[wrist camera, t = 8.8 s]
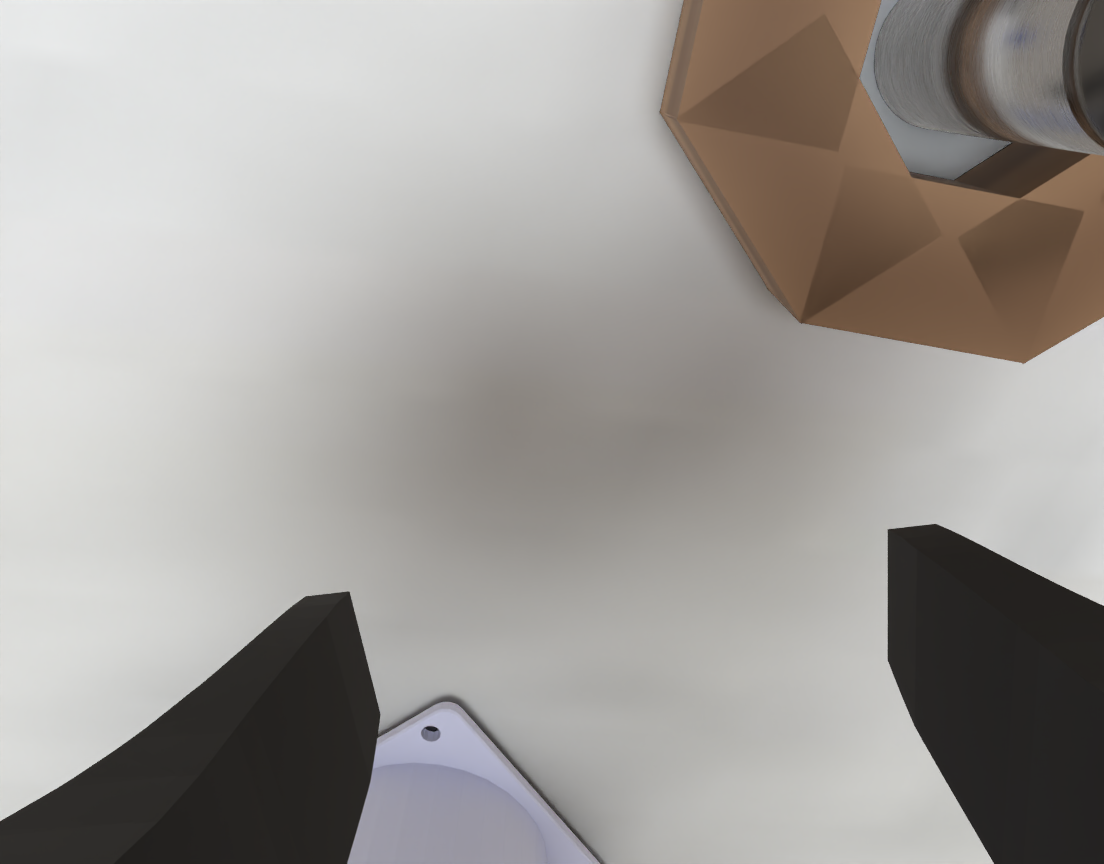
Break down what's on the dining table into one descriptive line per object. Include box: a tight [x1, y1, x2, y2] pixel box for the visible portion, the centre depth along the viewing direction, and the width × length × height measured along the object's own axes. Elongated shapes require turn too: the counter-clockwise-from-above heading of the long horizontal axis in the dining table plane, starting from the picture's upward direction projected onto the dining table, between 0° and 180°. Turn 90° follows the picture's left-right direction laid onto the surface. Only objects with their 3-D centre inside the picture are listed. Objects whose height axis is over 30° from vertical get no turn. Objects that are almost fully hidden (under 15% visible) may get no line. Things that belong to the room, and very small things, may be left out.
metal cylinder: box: [874, 0, 1104, 156], centre depth 15 cm, size 3×3×8 cm
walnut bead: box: [659, 0, 1104, 364], centre depth 17 cm, size 11×11×3 cm
